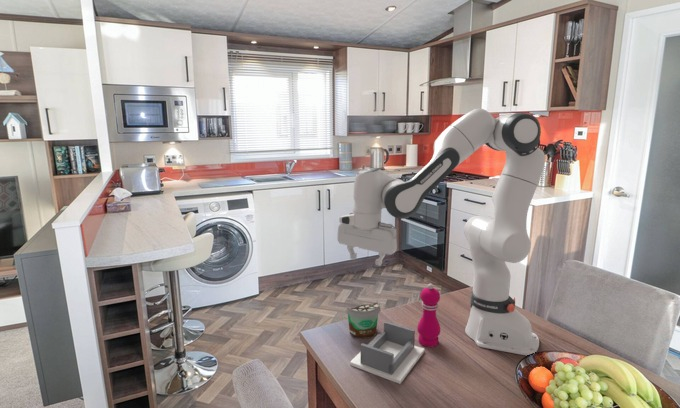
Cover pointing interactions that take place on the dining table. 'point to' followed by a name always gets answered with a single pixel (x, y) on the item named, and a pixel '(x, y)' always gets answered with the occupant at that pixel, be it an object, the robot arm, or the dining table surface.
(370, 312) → the food container
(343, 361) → the dining table surface
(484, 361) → the dining table surface
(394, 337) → the slot stand
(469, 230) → the robot arm
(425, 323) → the pepper mill
